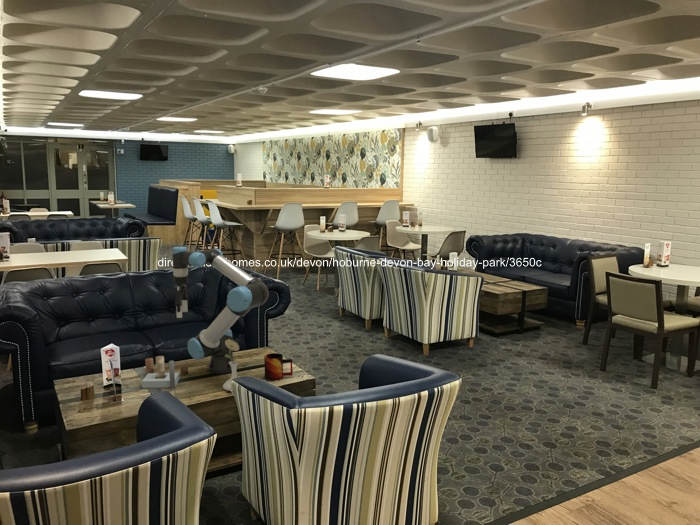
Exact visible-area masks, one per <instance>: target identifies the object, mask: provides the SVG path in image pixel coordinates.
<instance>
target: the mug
mask: <svg viewBox="0 0 700 525" xmlns="http://www.w3.org/2000/svg"><path fill="white" fill-rule="evenodd" d="M283 357H284V356H283V354H282V353H276V352H275V353H267V354H265V355H264V356H263V358H264V359H263V360H264V363H263V364H264V380H265V379H266V381H268V380H269V381H268V382H276V381H275V380H278V381H281V380H282V378H283V379H284V376H285V377H286V376H289V377H290V376H293V375H294V373H293V372H294V371H293V358H286V359H285V358H283ZM287 363H290V372H288V371H287V372H284V364H287ZM280 379H281V380H280Z"/></svg>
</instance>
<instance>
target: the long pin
mask: <svg viewBox="0 0 700 525" xmlns="http://www.w3.org/2000/svg"><path fill="white" fill-rule="evenodd" d="M155 370H156V372H155V373H157V379H162V378H165V373H166V372H165V356H163V355H158V356H155Z"/></svg>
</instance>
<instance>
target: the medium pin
mask: <svg viewBox="0 0 700 525" xmlns="http://www.w3.org/2000/svg"><path fill="white" fill-rule="evenodd" d="M144 360H145V373H146V374H145V376H146V375H147V374H148V373H155V365H154V357H147V358H145V359H144Z"/></svg>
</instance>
